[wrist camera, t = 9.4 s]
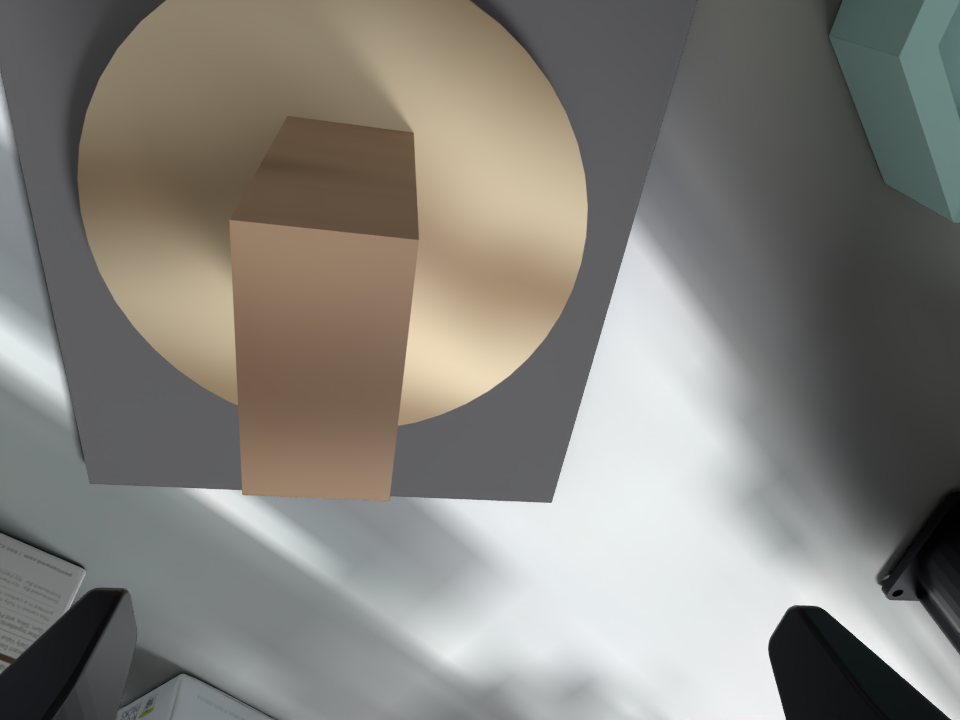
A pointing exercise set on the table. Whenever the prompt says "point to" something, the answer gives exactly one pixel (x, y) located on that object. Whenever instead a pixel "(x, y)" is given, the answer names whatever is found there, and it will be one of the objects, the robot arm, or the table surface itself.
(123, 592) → the robot arm
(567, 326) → the mat
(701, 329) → the table surface
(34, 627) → the supplement box
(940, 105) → the bowl
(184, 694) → the tea box
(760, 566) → the table surface
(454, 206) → the lid
